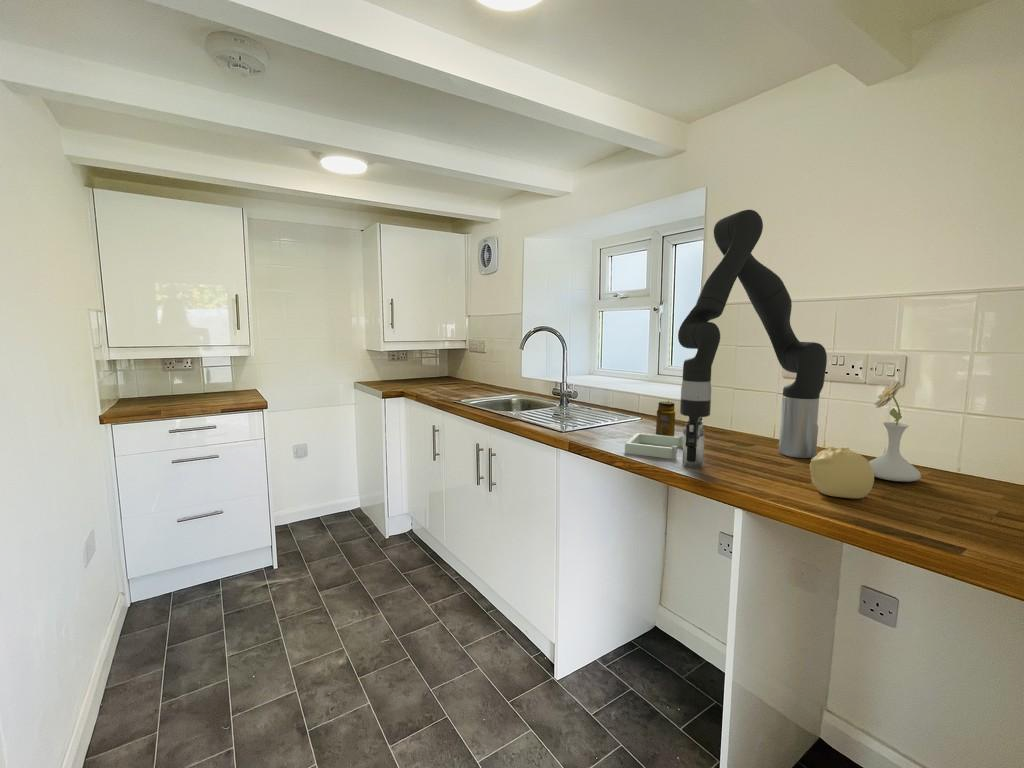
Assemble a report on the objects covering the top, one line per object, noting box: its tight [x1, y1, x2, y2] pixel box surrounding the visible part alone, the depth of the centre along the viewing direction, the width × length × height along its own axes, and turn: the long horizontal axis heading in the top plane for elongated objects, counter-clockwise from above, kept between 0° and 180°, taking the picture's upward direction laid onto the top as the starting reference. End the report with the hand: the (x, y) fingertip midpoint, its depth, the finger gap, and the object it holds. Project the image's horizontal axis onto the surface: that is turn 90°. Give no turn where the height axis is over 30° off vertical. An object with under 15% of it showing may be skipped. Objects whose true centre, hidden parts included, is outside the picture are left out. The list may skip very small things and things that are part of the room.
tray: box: [624, 432, 684, 460], centre depth 145 cm, size 15×16×4 cm
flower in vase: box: [868, 379, 922, 483], centre depth 116 cm, size 13×11×25 cm
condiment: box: [655, 401, 679, 437], centre depth 162 cm, size 7×8×12 cm
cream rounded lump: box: [809, 446, 875, 499], centre depth 106 cm, size 12×12×11 cm
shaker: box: [681, 427, 706, 470], centre depth 128 cm, size 5×5×10 cm
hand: (692, 457), depth 128 cm, fingers open, 7 cm apart
